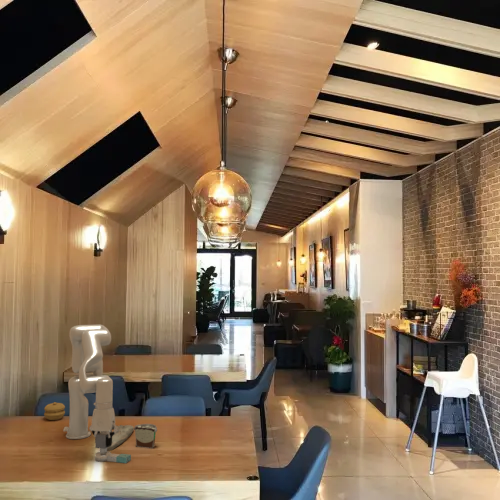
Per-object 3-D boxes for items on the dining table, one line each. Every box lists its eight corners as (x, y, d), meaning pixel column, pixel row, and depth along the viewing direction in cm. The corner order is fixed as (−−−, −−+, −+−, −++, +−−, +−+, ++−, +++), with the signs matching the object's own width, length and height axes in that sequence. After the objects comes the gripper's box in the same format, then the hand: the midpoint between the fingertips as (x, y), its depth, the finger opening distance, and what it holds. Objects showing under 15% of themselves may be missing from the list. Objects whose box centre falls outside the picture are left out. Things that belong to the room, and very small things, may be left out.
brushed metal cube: (95, 447, 233) (95, 434, 233) (101, 444, 238) (101, 431, 238) (105, 448, 231) (105, 435, 232) (111, 445, 236) (111, 432, 237)
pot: (49, 416, 309) (50, 399, 310) (68, 416, 308) (68, 400, 309) (40, 421, 298) (40, 404, 298) (59, 422, 296) (59, 404, 297)
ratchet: (92, 461, 232) (92, 445, 232) (100, 455, 238) (100, 440, 239) (124, 464, 227) (124, 448, 228) (132, 459, 234) (132, 443, 235)
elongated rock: (95, 453, 246) (115, 455, 246) (96, 443, 246) (116, 444, 246) (120, 429, 281) (137, 430, 280) (120, 419, 281) (138, 420, 280)
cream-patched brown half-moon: (161, 445, 254) (161, 424, 255) (155, 448, 248) (155, 428, 249) (140, 442, 258) (140, 422, 259) (133, 446, 252) (133, 425, 253)
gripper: (83, 406, 234) (82, 446, 233) (116, 408, 230) (115, 449, 229) (92, 402, 242) (91, 441, 240) (124, 404, 237) (124, 444, 236)
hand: (103, 445), depth 234 cm, fingers closed on brushed metal cube, 5 cm apart
